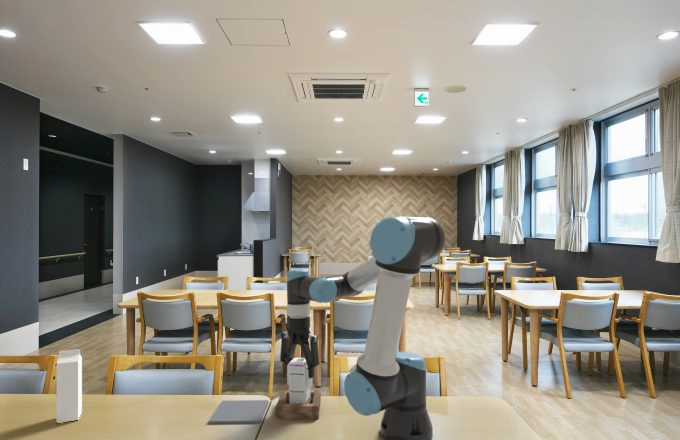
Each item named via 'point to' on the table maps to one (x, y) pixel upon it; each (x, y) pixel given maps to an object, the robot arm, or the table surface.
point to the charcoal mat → (239, 412)
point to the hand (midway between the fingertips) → (299, 385)
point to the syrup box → (298, 382)
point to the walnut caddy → (298, 407)
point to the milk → (69, 385)
